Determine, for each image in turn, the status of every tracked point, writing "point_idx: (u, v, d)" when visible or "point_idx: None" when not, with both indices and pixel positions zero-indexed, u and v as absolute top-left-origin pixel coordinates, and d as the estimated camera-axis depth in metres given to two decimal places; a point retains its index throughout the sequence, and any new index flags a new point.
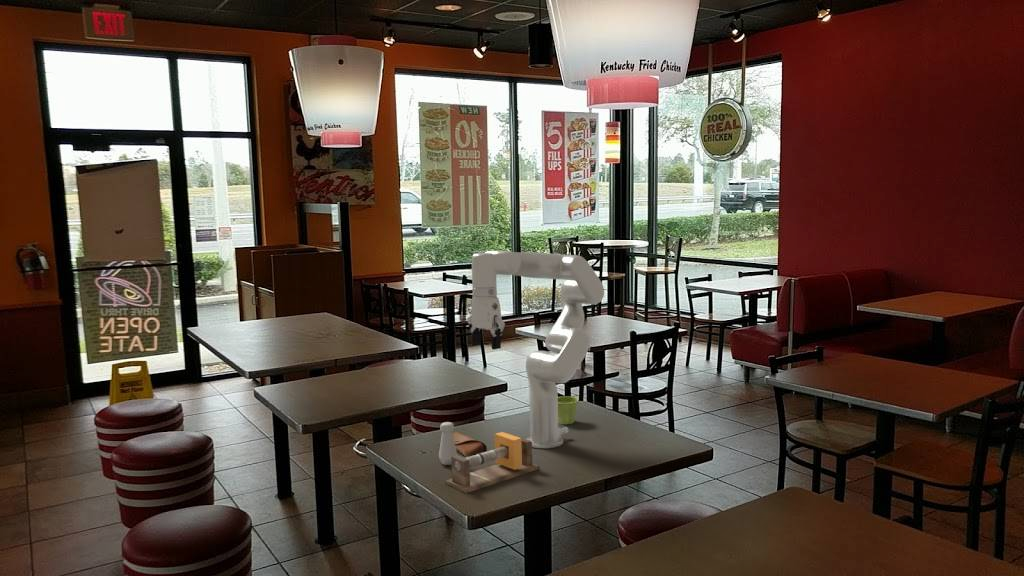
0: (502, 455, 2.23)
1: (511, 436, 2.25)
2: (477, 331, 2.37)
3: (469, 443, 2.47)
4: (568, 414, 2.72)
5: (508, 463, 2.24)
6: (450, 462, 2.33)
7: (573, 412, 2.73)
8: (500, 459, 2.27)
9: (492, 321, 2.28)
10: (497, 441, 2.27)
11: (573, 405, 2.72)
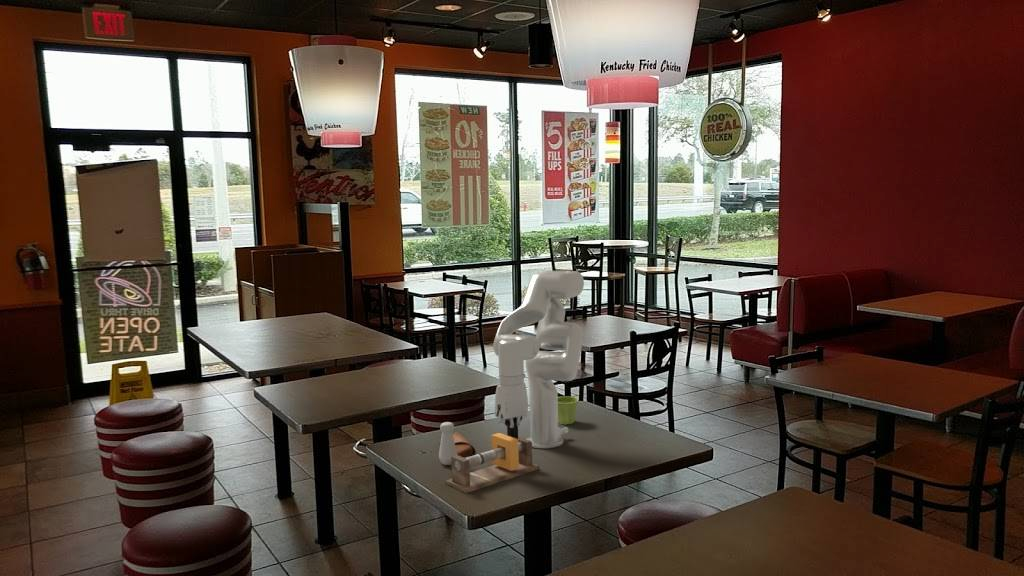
0: (502, 455, 2.23)
1: (508, 437, 2.24)
2: None
3: (460, 445, 2.45)
4: (568, 414, 2.72)
5: (505, 464, 2.23)
6: (450, 462, 2.33)
7: (573, 412, 2.73)
8: (497, 460, 2.26)
9: None
10: (494, 442, 2.27)
11: (573, 405, 2.72)
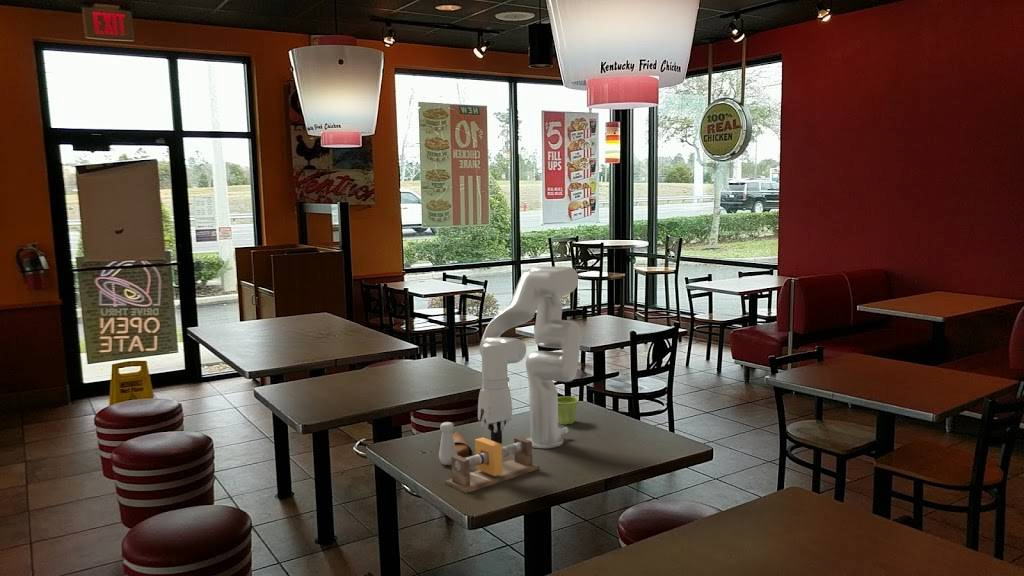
0: (502, 455, 2.23)
1: (491, 442, 2.20)
2: None
3: (457, 445, 2.45)
4: (568, 414, 2.72)
5: (488, 469, 2.19)
6: (450, 462, 2.33)
7: (573, 412, 2.73)
8: (480, 465, 2.22)
9: None
10: (477, 447, 2.23)
11: (573, 405, 2.72)
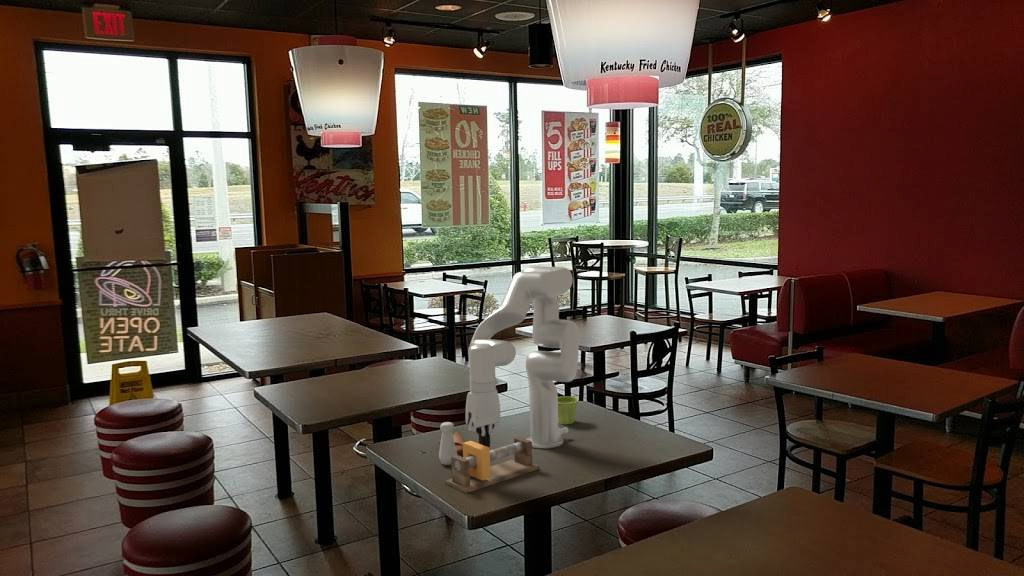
0: (502, 455, 2.23)
1: (479, 445, 2.17)
2: None
3: None
4: (568, 414, 2.72)
5: (476, 473, 2.16)
6: (450, 462, 2.33)
7: (573, 412, 2.73)
8: None
9: None
10: (465, 450, 2.20)
11: (573, 405, 2.72)
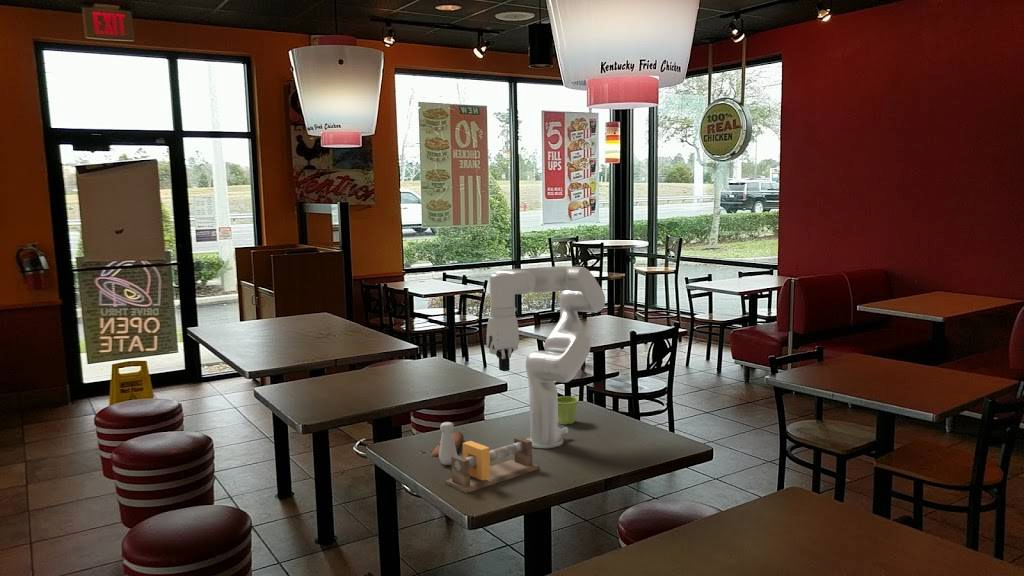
0: (502, 455, 2.23)
1: (479, 445, 2.17)
2: None
3: None
4: (568, 414, 2.72)
5: (476, 473, 2.16)
6: (450, 462, 2.33)
7: (573, 412, 2.73)
8: None
9: None
10: (465, 450, 2.20)
11: (573, 405, 2.72)
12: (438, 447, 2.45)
